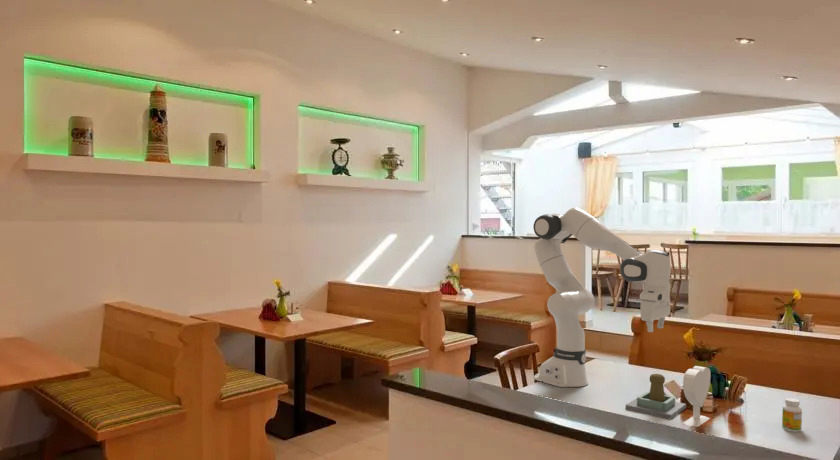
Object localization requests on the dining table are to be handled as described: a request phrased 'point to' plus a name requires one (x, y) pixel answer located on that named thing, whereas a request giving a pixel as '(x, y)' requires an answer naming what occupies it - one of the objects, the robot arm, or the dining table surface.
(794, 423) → the supplement bottle
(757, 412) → the dining table surface
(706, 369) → the heart sculpture
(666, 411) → the housing
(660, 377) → the olive green tapered cylinder
